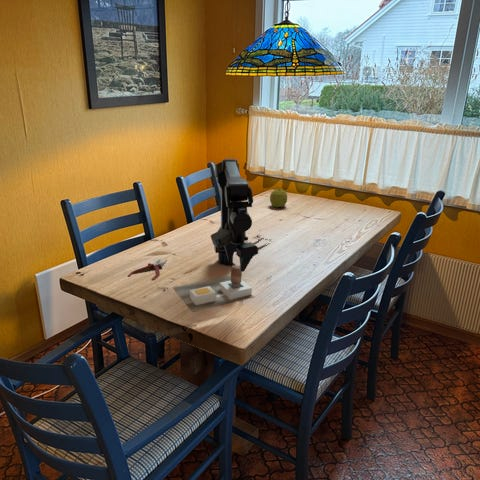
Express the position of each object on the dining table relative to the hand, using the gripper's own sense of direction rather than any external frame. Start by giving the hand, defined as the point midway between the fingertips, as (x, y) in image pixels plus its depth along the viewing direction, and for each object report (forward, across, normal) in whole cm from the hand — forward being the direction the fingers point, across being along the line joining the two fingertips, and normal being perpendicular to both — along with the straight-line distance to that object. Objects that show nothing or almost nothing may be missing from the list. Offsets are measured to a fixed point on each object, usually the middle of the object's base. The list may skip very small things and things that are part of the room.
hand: (236, 266), depth 146 cm
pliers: (+12, -29, -19) cm, 37 cm away
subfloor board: (+11, -3, -7) cm, 14 cm away
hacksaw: (+12, -39, +30) cm, 50 cm away
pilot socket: (+10, 0, 0) cm, 10 cm away
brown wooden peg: (+10, 0, 0) cm, 10 cm away
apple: (+11, -83, +70) cm, 109 cm away
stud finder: (+10, 0, -12) cm, 15 cm away
